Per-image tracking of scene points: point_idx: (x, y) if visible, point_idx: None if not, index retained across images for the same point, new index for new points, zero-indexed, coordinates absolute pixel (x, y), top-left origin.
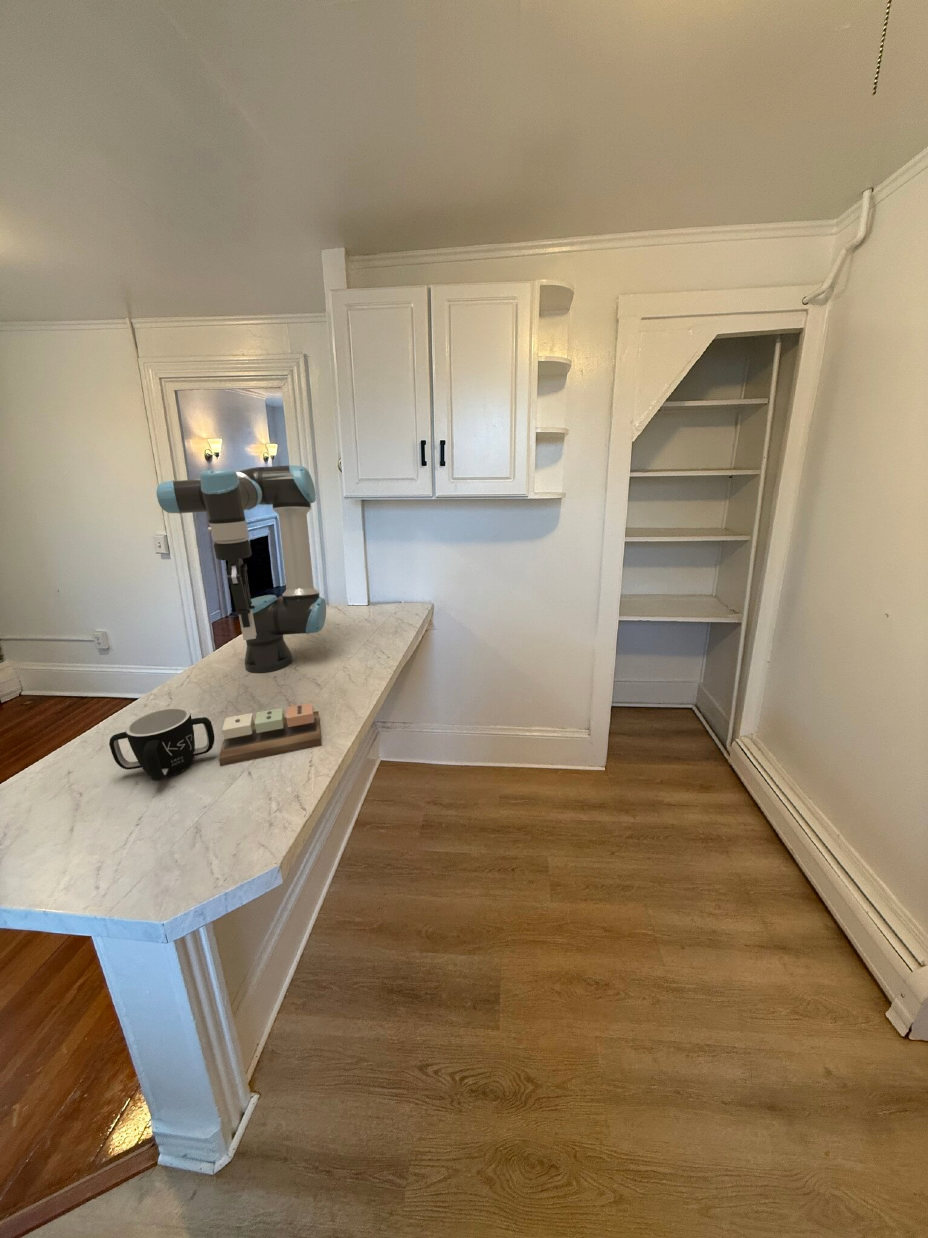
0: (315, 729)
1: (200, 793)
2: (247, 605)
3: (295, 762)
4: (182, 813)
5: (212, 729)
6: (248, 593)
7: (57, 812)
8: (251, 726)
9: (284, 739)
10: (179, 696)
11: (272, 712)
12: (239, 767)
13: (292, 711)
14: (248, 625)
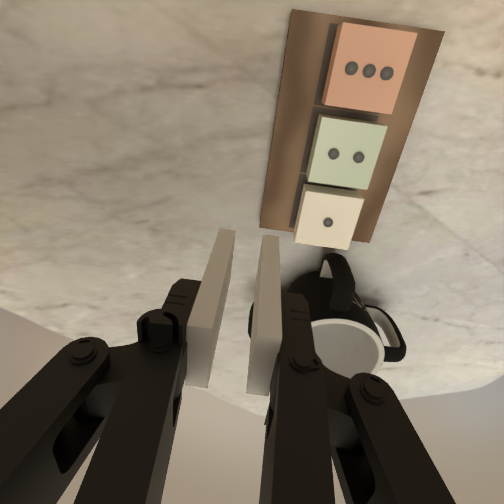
0: None
1: (424, 260)
2: (327, 418)
3: (457, 106)
4: (456, 279)
5: (344, 266)
6: (93, 474)
7: None
8: (349, 193)
9: (386, 122)
10: (59, 294)
11: (333, 146)
12: (392, 208)
13: (362, 93)
14: (305, 306)
